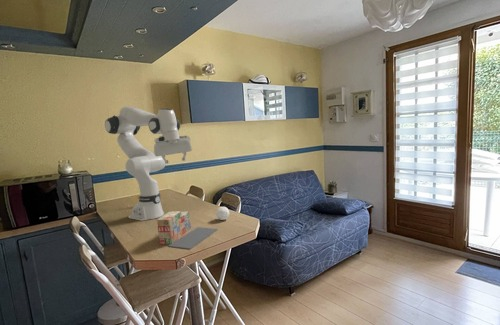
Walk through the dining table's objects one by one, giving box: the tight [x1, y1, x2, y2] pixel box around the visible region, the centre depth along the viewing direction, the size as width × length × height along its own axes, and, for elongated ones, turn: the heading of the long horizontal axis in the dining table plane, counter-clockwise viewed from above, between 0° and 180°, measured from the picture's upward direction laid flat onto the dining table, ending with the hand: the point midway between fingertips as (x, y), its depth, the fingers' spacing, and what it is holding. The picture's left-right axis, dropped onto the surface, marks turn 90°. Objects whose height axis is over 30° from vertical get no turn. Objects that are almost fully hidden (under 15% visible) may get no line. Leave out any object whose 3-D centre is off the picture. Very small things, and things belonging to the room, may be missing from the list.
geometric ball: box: [215, 206, 230, 221], centre depth 154 cm, size 8×8×8 cm
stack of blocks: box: [156, 210, 191, 245], centre depth 134 cm, size 21×6×12 cm, turn 169°
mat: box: [167, 226, 218, 250], centre depth 130 cm, size 12×24×1 cm, turn 157°
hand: (175, 162), depth 149 cm, fingers open, 8 cm apart
